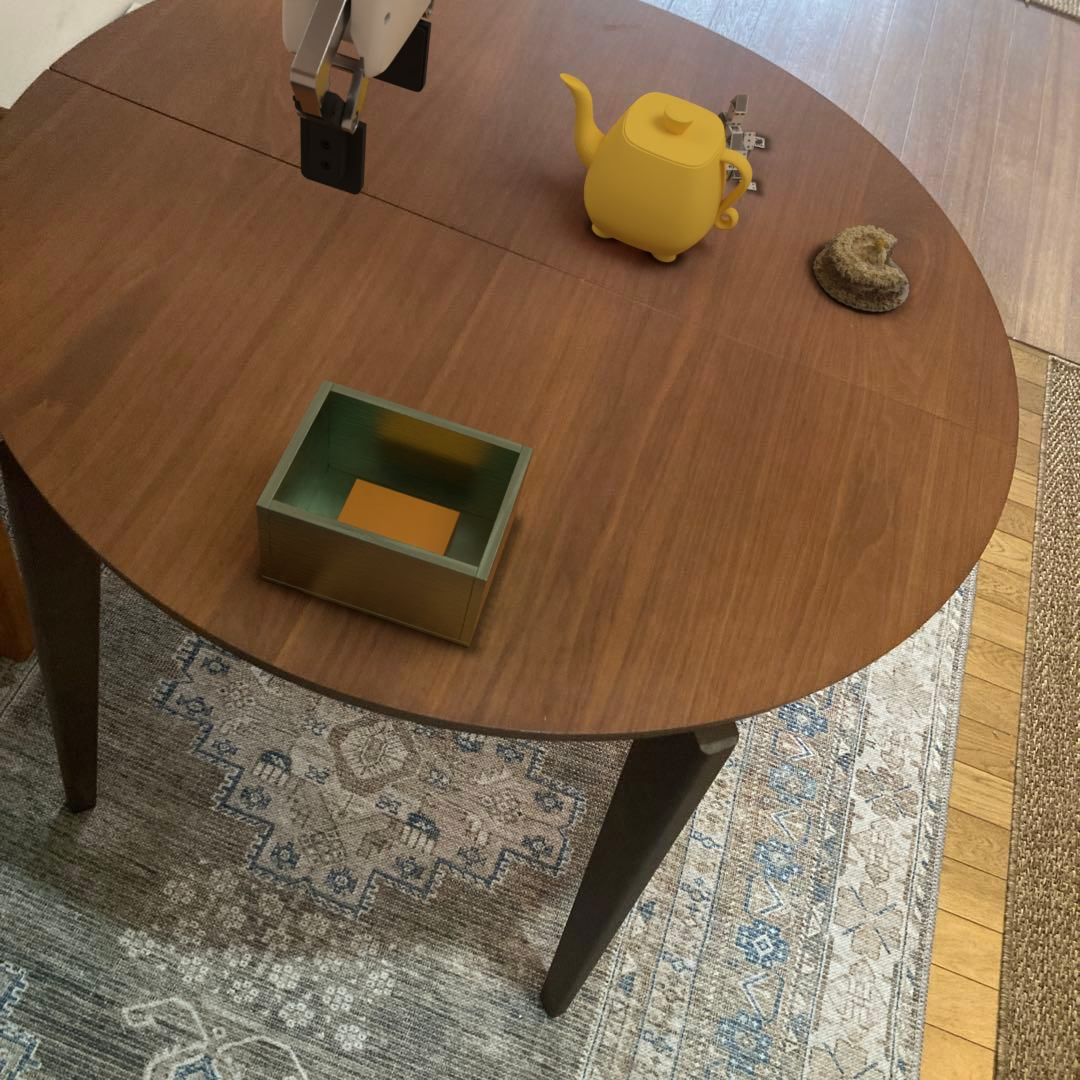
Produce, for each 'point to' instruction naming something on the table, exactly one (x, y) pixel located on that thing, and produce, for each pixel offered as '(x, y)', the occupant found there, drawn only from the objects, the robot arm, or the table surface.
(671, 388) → the table surface
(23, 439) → the table surface
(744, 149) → the house of cards
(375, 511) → the block
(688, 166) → the teapot
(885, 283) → the cake
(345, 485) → the bin
